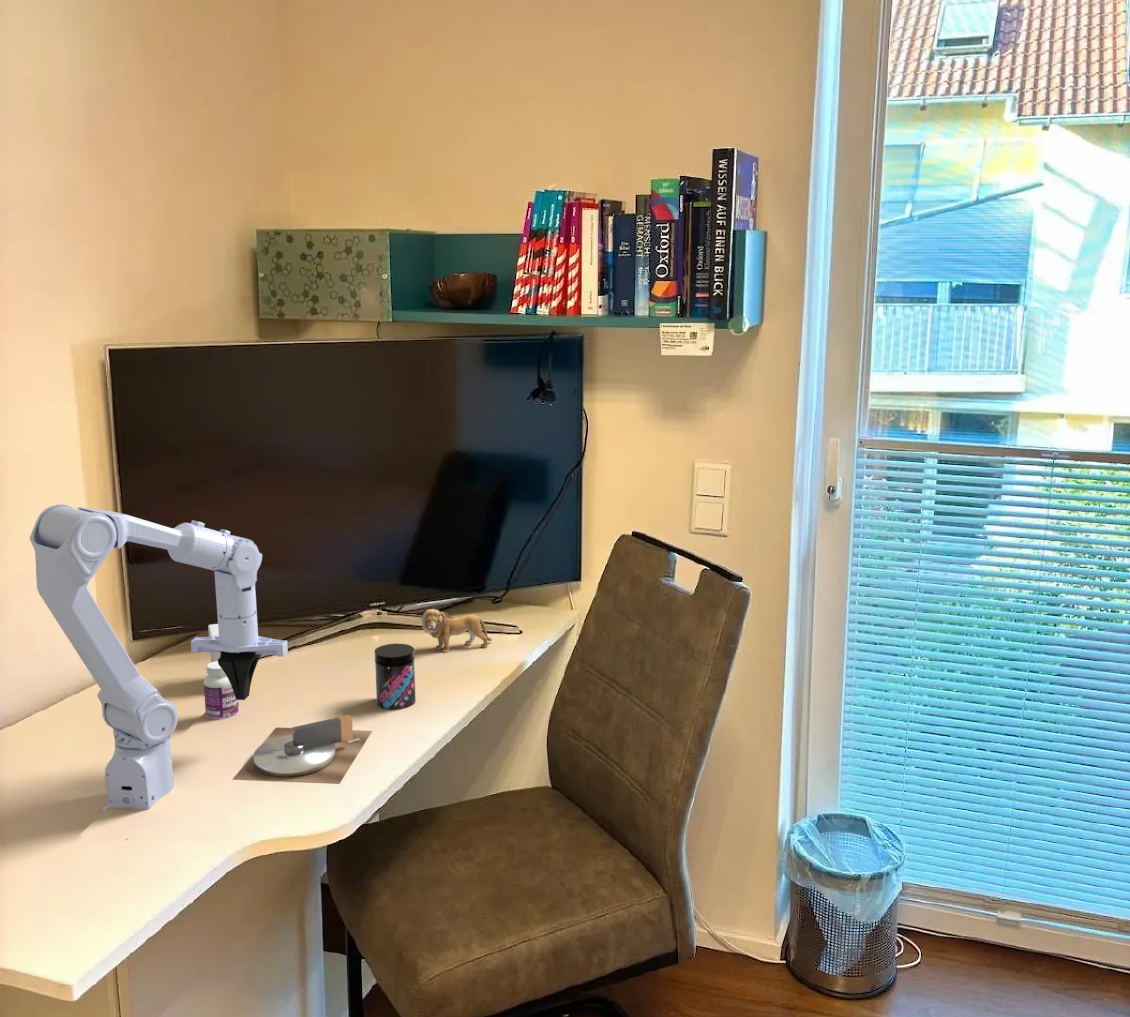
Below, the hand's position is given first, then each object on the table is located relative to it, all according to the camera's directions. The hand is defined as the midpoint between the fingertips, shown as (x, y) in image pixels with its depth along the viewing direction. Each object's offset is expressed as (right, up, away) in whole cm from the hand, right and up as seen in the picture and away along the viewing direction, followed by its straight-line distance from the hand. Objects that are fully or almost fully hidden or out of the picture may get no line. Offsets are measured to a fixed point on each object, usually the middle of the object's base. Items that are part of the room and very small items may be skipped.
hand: (242, 697), depth 163 cm
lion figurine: (+28, +1, +47) cm, 55 cm away
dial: (+10, -9, -2) cm, 13 cm away
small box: (-11, -3, +30) cm, 32 cm away
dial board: (+10, -10, 0) cm, 14 cm away
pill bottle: (-8, -6, +15) cm, 18 cm away
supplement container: (+21, -5, +19) cm, 29 cm away
